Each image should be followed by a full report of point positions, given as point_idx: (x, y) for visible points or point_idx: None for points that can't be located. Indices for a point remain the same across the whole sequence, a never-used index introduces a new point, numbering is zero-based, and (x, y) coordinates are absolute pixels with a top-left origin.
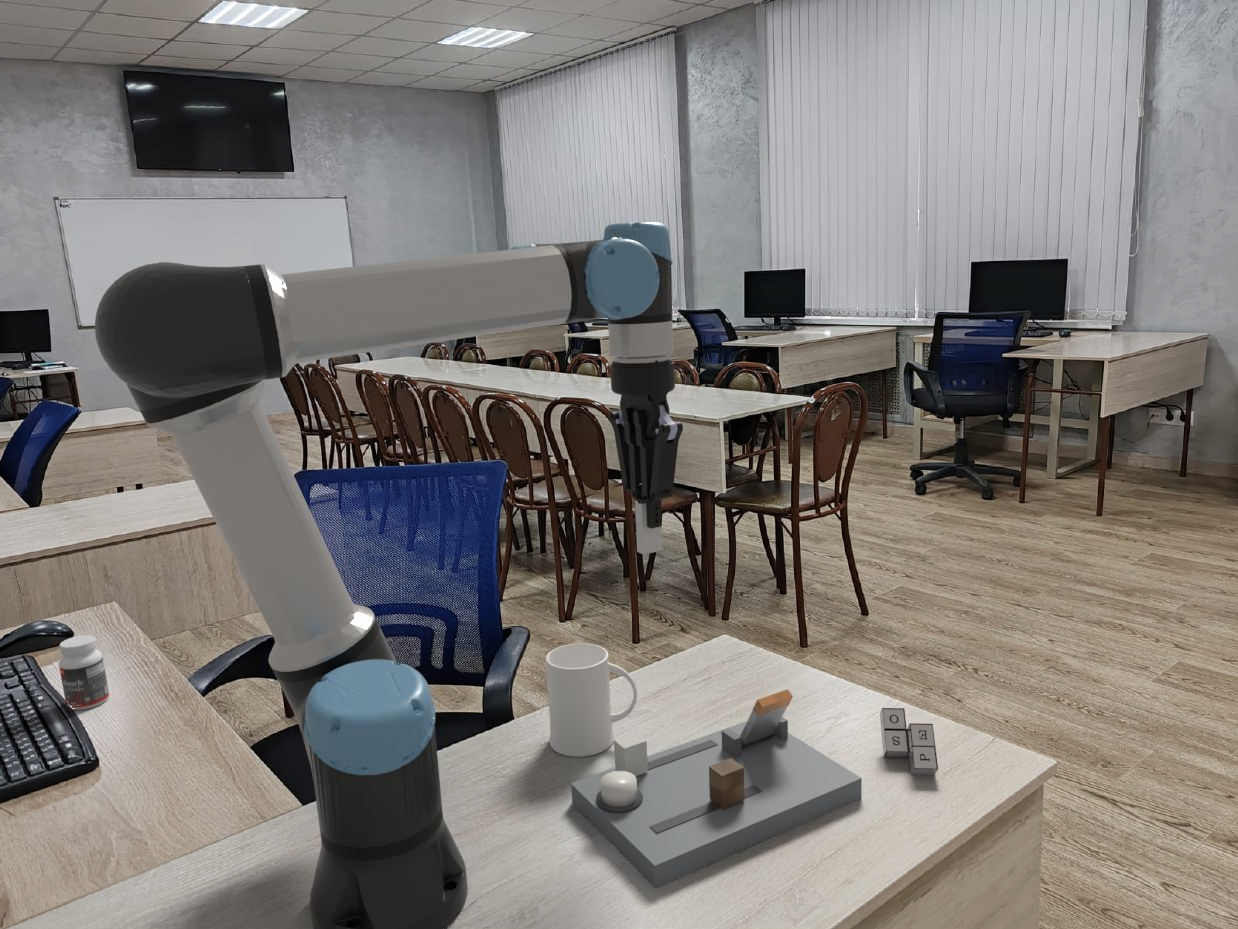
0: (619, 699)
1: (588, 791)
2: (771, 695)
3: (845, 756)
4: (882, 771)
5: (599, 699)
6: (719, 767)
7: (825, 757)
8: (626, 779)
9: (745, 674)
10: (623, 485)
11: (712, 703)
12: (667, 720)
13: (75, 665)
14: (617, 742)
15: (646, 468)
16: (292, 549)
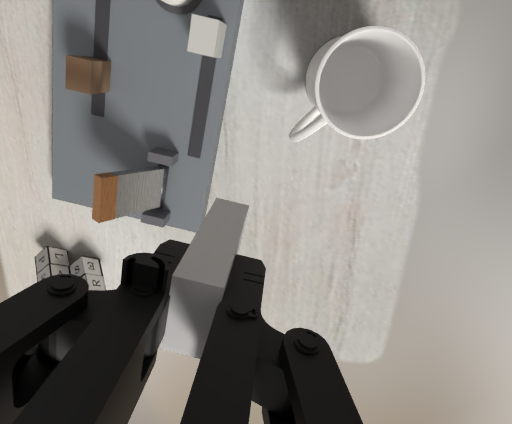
0: (381, 184)
1: None
2: (99, 198)
3: (121, 239)
4: (83, 238)
5: (311, 82)
6: (82, 68)
7: None
8: None
9: (302, 311)
10: (316, 343)
11: (286, 242)
12: (299, 183)
13: None
14: (210, 18)
15: (26, 406)
16: None
